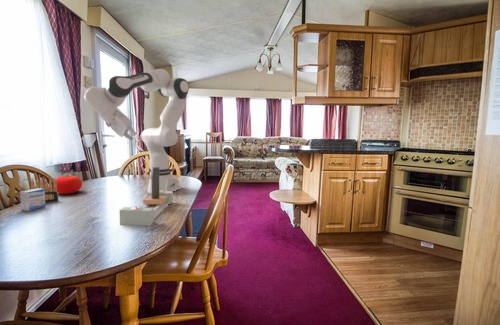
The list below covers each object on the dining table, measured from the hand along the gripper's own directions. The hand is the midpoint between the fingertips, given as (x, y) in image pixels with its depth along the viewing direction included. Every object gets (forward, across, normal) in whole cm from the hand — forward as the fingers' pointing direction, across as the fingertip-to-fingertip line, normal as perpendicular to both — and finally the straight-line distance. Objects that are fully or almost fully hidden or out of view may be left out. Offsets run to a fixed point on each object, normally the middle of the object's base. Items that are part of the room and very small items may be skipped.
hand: (133, 137), depth 134 cm
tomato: (-1, +43, +37) cm, 57 cm away
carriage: (+31, -6, +16) cm, 35 cm away
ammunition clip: (-4, +28, +47) cm, 55 cm away
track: (+32, -11, +22) cm, 40 cm away
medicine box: (-3, +17, +52) cm, 55 cm away
